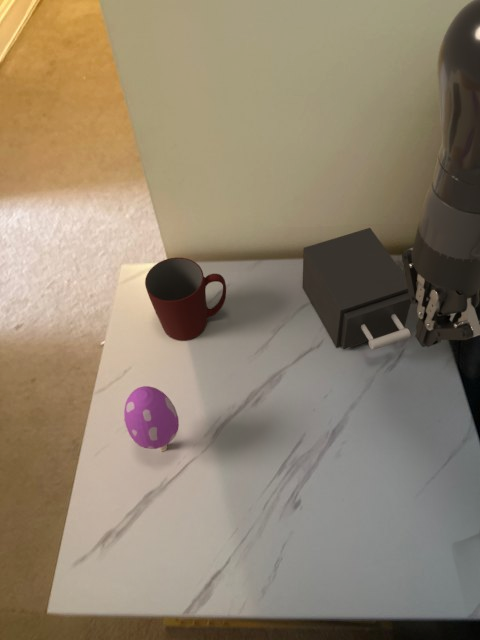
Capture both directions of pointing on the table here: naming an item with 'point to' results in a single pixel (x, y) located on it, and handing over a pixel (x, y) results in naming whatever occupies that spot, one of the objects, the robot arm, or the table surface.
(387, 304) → the drawer
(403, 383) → the table surface
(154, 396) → the toy
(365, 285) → the cabinet
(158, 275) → the mug
